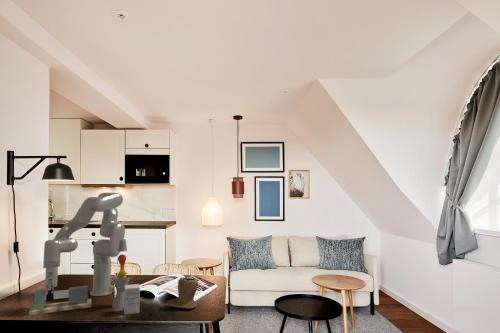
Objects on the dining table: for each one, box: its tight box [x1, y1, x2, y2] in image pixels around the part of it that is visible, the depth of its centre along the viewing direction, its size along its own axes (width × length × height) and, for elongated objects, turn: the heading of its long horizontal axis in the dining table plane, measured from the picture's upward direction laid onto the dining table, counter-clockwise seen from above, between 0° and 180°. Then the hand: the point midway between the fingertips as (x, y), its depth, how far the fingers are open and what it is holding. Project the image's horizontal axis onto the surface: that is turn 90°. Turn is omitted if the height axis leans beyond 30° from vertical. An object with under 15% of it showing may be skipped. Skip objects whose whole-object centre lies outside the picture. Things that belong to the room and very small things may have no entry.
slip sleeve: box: [67, 285, 89, 306], centre depth 180 cm, size 9×5×8 cm, turn 116°
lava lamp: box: [111, 238, 131, 309], centre depth 182 cm, size 9×9×35 cm
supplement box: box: [123, 283, 141, 315], centre depth 173 cm, size 7×7×13 cm
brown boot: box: [165, 276, 199, 310], centre depth 181 cm, size 15×12×15 cm
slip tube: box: [44, 289, 69, 301], centre depth 177 cm, size 16×3×3 cm, turn 116°
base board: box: [28, 298, 93, 316], centre depth 177 cm, size 28×10×2 cm, turn 116°
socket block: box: [33, 288, 46, 310], centre depth 173 cm, size 4×7×8 cm, turn 26°
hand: (49, 299), depth 175 cm, fingers closed on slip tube, 3 cm apart
